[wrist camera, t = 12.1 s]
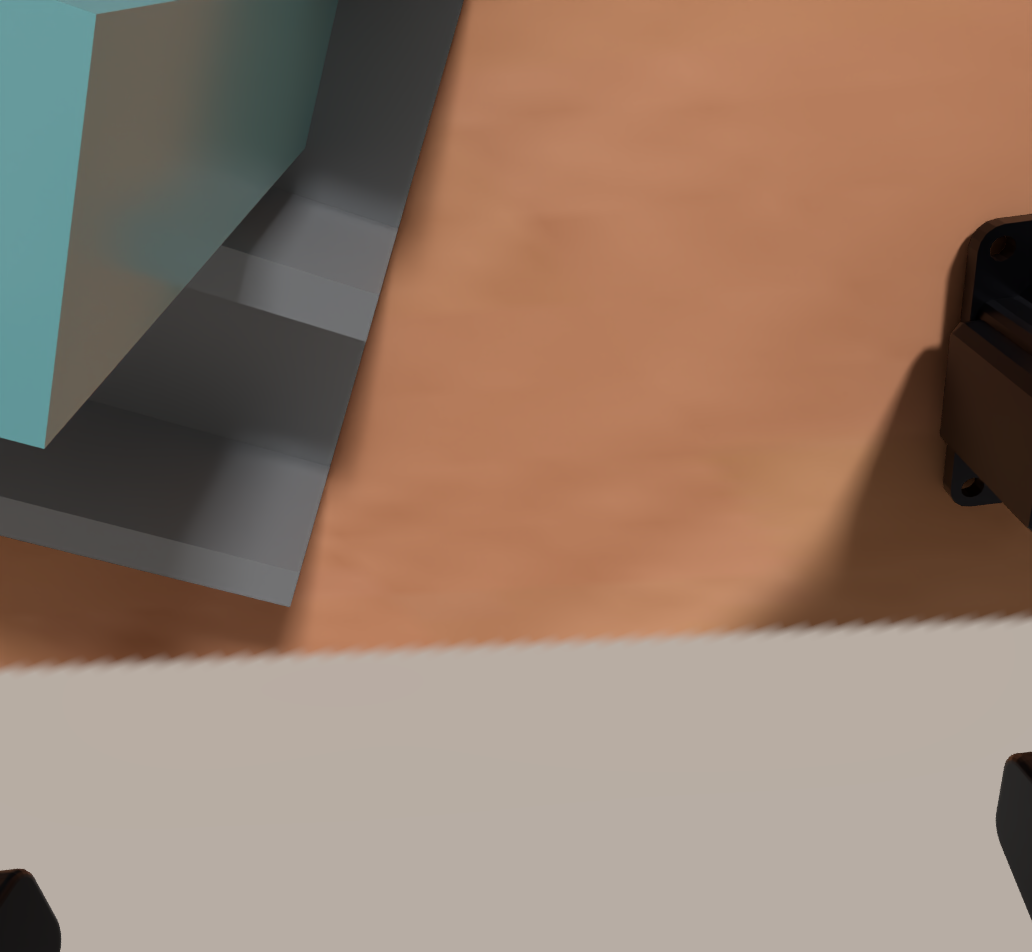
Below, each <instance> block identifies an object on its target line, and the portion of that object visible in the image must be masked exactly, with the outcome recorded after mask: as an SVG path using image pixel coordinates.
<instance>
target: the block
mask: <svg viewBox="0 0 1032 952" xmlns="http://www.w3.org/2000/svg"><path fill="white" fill-rule="evenodd" d="M337 4H338V0H0V438H4V439H8V440H12V441H16V442H20V443H23V444H27V445H31V446H35V447H39V448H42V449H45V447H46V446H47V445H48V444H49V443H50V442H51V441H52V439H53V438H54V437H55V436H56V435H57V434H58V432H59V431H60V430H61V429H62V428H63V427H64V426H65V424H66V423H67V422H68V421H69V420H70V419H71V417H72V416H73V415H74V414H75V413H76V412H77V411H78V409H79V408H80V407H81V406H82V405H83V404H84V402H85V401H86V400H87V399H88V398H89V397H90V396H91V394H92V393H93V392H94V391H95V390H96V389H97V387H98V386H99V385H100V384H101V383H102V382H103V381H104V379H105V378H106V377H107V376H108V375H109V374H110V372H111V371H112V370H113V369H114V368H115V367H116V366H117V364H118V363H119V362H120V361H121V360H122V359H123V357H124V356H125V355H126V354H127V353H128V352H129V351H130V349H131V348H132V347H133V346H134V345H135V344H136V343H137V341H138V340H139V339H140V338H141V337H142V336H143V334H144V333H145V332H146V331H147V330H148V329H149V328H150V326H151V325H152V324H153V323H154V322H155V321H156V319H157V318H158V317H159V316H160V315H161V314H162V313H163V311H164V310H165V309H166V308H167V307H168V306H169V304H170V303H171V302H172V301H173V300H174V299H175V298H176V296H177V295H178V294H179V293H180V292H181V291H182V289H183V288H184V287H185V286H186V285H187V284H188V283H189V281H190V280H191V279H192V278H193V277H194V276H195V274H196V273H197V272H198V271H199V270H200V269H201V268H202V266H203V265H204V264H205V263H206V262H207V261H208V259H209V258H210V257H211V256H212V255H213V254H214V253H215V251H216V250H217V249H218V248H219V247H220V246H221V244H222V243H223V242H224V241H225V240H226V239H227V238H228V236H229V235H230V234H231V233H232V232H233V231H234V229H235V228H236V227H237V226H238V225H239V224H240V223H241V221H242V220H243V219H244V218H245V217H246V216H247V214H248V213H249V212H250V211H251V210H252V209H253V208H254V206H255V205H256V204H257V203H258V202H259V201H260V199H261V198H262V197H263V196H264V195H265V194H266V193H267V191H268V190H269V189H270V188H271V187H272V186H273V184H274V183H275V182H276V181H277V180H278V179H279V178H280V176H281V175H282V174H283V173H284V172H285V171H286V169H287V168H288V167H289V166H290V165H291V164H292V163H293V161H294V160H295V159H296V158H297V157H298V156H299V154H300V153H301V152H302V151H303V150H304V149H305V146H306V142H307V137H308V133H309V128H310V124H311V119H312V115H313V111H314V106H315V102H316V97H317V93H318V88H319V84H320V80H321V75H322V71H323V66H324V62H325V57H326V53H327V49H328V44H329V40H330V35H331V31H332V26H333V22H334V18H335V13H336V9H337Z"/></svg>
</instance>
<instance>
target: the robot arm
mask: <svg viewBox="0 0 1032 952" xmlns="http://www.w3.org/2000/svg"><path fill="white" fill-rule="evenodd" d="M1002 236H1006V244H1005V246H1004V248H1003V249H1002V250H1001V251H1000V252H999V253H998V254H995V255H993V256H991V255H990V248H991V246H992V243H993V242H994V241H995V240H996V239H997V238H1000V237H1002ZM940 436H941V438H942V439H943V440H944V441H945V442H946V443H947V450H946V459H945V468H944V477H943V485H944V489H945V491H946V492H947V493H948V495H949V496H950V497H951V498H952V499H953V500H954V502H955V503H957V504H959V505H961V506H977V505H986V504H994V503H1002V502H1003V503H1004V504H1005V505H1006V506H1007V507H1008V508H1009V509H1010V510H1011V512H1012V513H1013V514H1014V515H1015V516H1016V517H1017V518H1018V519H1019V520H1020V521H1021V522H1022V523H1023V524H1024V525H1025V526H1026V527H1027V528H1028V529H1029V530H1031V531H1032V214H1028V215H1020V216H1012V217H1004V218H997V219H993V220H990V221H987V222H985V223H984V224H983V225H981V226H980V227H979V228H978V229H977V230H976V231H975V233H974V234H973V235H972V237H971V240H970V243H969V247H968V256H967V266H966V275H965V284H964V293H963V302H962V312H961V321H960V323H959V324H958V325H957V326H956V328H955V329H954V330H953V332H952V333H951V334H950V341H949V351H948V360H947V370H946V380H945V389H944V399H943V409H942V418H941V428H940ZM971 478H976V479H975V482H974V483H973V484H972V485H971V486H970V487H967V488H964V489H962V486H963V484H964V483H965V482H966V481H967V480H968V479H971ZM996 827H997V834H998V837H999V841H1000V844H1001V846H1002V848H1003V851H1004V854H1005V856H1006V858H1007V861H1008V864H1009V866H1010V869H1011V871H1012V873H1013V876H1014V878H1015V881H1016V883H1017V886H1018V888H1019V891H1020V892H1021V895H1022V898H1023V900H1024V903H1025V905H1026V908H1027V910H1028V913H1029V915H1030V917H1031V920H1032V752H1026V753H1016V754H1013V755H1011V756H1010V757H1009V758H1008V759H1007V761H1006V763H1005V766H1004V771H1003V777H1002V783H1001V789H1000V795H999V801H998V806H997V812H996ZM60 948H61V931H60V927H59V923H58V921H57V919H56V917H55V915H54V913H53V911H52V910H51V908H50V906H49V904H48V902H47V900H46V899H45V897H44V895H43V893H42V891H41V889H40V888H39V886H38V884H37V882H36V880H35V878H34V877H33V875H32V874H31V873H30V872H28V871H26V870H25V869H11V870H3V871H0V952H60Z"/></svg>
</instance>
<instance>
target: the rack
mask: <svg viewBox="0 0 1032 952" xmlns="http://www.w3.org/2000/svg"><path fill="white" fill-rule="evenodd" d="M463 1H464V0H338V4H337V9H336V13H335V18H334V22H333V26H332V31H331V35H330V40H329V44H328V49H327V53H326V57H325V62H324V66H323V71H322V75H321V80H320V84H319V88H318V93H317V97H316V102H315V106H314V111H313V115H312V119H311V124H310V128H309V133H308V137H307V142H306V146H305V149H304V150H303V151H302V152H301V153H300V154H299V156H298V157H297V158H296V159H295V160H294V161H293V163H292V164H291V165H290V166H289V167H288V168H287V169H286V171H285V172H284V173H283V174H282V175H281V176H280V178H279V179H278V180H277V181H276V182H275V183H274V184H273V186H272V187H271V188H270V189H269V190H268V191H267V193H266V194H265V195H264V196H263V197H262V198H261V199H260V201H259V202H258V203H257V204H256V205H255V206H254V208H253V209H252V210H251V211H250V212H249V213H248V214H247V216H246V217H245V218H244V219H243V220H242V221H241V223H240V224H239V225H238V226H237V227H236V228H235V229H234V231H233V232H232V233H231V234H230V235H229V236H228V238H227V239H226V240H225V241H224V242H223V243H222V244H221V246H220V247H219V248H218V249H217V250H216V251H215V253H214V254H213V255H212V256H211V257H210V258H209V259H208V261H207V262H206V263H205V264H204V265H203V266H202V268H201V269H200V270H199V271H198V272H197V273H196V274H195V276H194V277H193V278H192V279H191V280H190V281H189V283H188V284H187V285H186V286H185V287H184V288H183V289H182V291H181V292H180V293H179V294H178V295H177V296H176V298H175V299H174V300H173V301H172V302H171V303H170V304H169V306H168V307H167V308H166V309H165V310H164V311H163V313H162V314H161V315H160V316H159V317H158V318H157V319H156V321H155V322H154V323H153V324H152V325H151V326H150V328H149V329H148V330H147V331H146V332H145V333H144V334H143V336H142V337H141V338H140V339H139V340H138V341H137V343H136V344H135V345H134V346H133V347H132V348H131V349H130V351H129V352H128V353H127V354H126V355H125V356H124V357H123V359H122V360H121V361H120V362H119V363H118V364H117V366H116V367H115V368H114V369H113V370H112V371H111V372H110V374H109V375H108V376H107V377H106V378H105V379H104V381H103V382H102V383H101V384H100V385H99V386H98V387H97V389H96V390H95V391H94V392H93V393H92V394H91V396H90V397H89V398H88V399H87V400H86V401H85V402H84V404H83V405H82V406H81V407H80V408H79V409H78V411H77V412H76V413H75V414H74V415H73V416H72V417H71V419H70V420H69V421H68V422H67V423H66V424H65V426H64V427H63V428H62V429H61V430H60V431H59V432H58V434H57V435H56V436H55V437H54V438H53V439H52V441H51V442H50V443H49V444H48V445H47V446H46V447H45V449H42V448H39V447H35V446H31V445H27V444H23V443H20V442H16V441H12V440H8V439H4V438H0V536H4V537H8V538H12V539H16V540H20V541H24V542H28V543H32V544H36V545H41V546H45V547H49V548H53V549H57V550H61V551H65V552H69V553H73V554H77V555H81V556H85V557H89V558H93V559H97V560H101V561H105V562H109V563H113V564H117V565H121V566H125V567H129V568H133V569H137V570H141V571H146V572H150V573H154V574H158V575H162V576H166V577H170V578H174V579H178V580H182V581H186V582H190V583H194V584H198V585H202V586H206V587H210V588H214V589H218V590H222V591H226V592H230V593H234V594H238V595H242V596H247V597H251V598H255V599H259V600H263V601H267V602H271V603H275V604H279V605H283V606H287V607H290V605H291V602H292V598H293V595H294V591H295V588H296V584H297V581H298V577H299V574H300V570H301V567H302V563H303V560H304V556H305V553H306V549H307V546H308V542H309V539H310V535H311V532H312V528H313V525H314V521H315V518H316V514H317V511H318V507H319V504H320V500H321V497H322V493H323V489H324V486H325V482H326V479H327V475H328V472H329V468H330V465H331V461H332V458H333V454H334V451H335V447H336V444H337V441H338V437H339V434H340V430H341V427H342V423H343V420H344V416H345V413H346V409H347V406H348V402H349V399H350V395H351V392H352V388H353V385H354V381H355V378H356V374H357V371H358V367H359V364H360V360H361V357H362V353H363V350H364V346H365V343H366V340H367V336H368V333H369V329H370V326H371V322H372V319H373V315H374V312H375V308H376V305H377V302H378V298H379V295H380V291H381V287H382V284H383V280H384V277H385V273H386V270H387V266H388V263H389V259H390V256H391V252H392V249H393V245H394V242H395V238H396V235H397V231H398V228H399V224H400V221H401V217H402V214H403V210H404V207H405V203H406V200H407V196H408V193H409V189H410V186H411V182H412V179H413V175H414V172H415V168H416V165H417V161H418V158H419V154H420V151H421V147H422V144H423V140H424V137H425V133H426V130H427V126H428V123H429V119H430V116H431V112H432V109H433V105H434V102H435V98H436V95H437V91H438V88H439V84H440V81H441V77H442V74H443V70H444V67H445V63H446V60H447V56H448V53H449V50H450V46H451V43H452V39H453V36H454V32H455V29H456V25H457V22H458V18H459V15H460V11H461V8H462V4H463Z"/></svg>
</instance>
